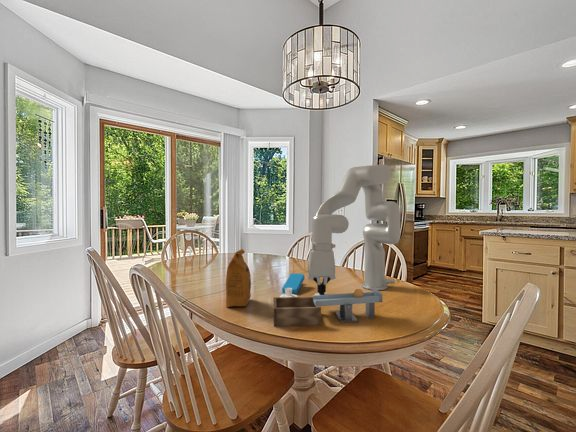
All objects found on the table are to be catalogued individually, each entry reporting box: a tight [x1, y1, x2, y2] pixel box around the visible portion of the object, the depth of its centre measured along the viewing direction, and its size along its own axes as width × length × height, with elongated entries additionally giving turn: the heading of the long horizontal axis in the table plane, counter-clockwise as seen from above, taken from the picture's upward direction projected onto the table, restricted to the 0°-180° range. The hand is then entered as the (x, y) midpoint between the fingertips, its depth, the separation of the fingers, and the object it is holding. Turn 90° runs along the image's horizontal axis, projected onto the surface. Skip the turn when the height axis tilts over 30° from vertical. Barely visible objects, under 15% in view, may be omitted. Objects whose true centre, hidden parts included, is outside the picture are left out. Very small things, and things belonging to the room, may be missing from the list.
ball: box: [353, 288, 364, 298], centre depth 105 cm, size 4×4×4 cm
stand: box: [334, 303, 376, 323], centre depth 105 cm, size 13×10×6 cm
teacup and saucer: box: [279, 288, 299, 297], centre depth 128 cm, size 9×8×4 cm
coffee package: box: [225, 248, 252, 308], centre depth 119 cm, size 10×12×22 cm
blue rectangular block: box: [281, 272, 305, 295], centre depth 141 cm, size 7×7×18 cm
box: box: [272, 296, 322, 327], centre depth 103 cm, size 16×12×6 cm
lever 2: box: [312, 289, 383, 307], centre depth 108 cm, size 24×12×3 cm, turn 93°
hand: (321, 294), depth 112 cm, fingers closed
